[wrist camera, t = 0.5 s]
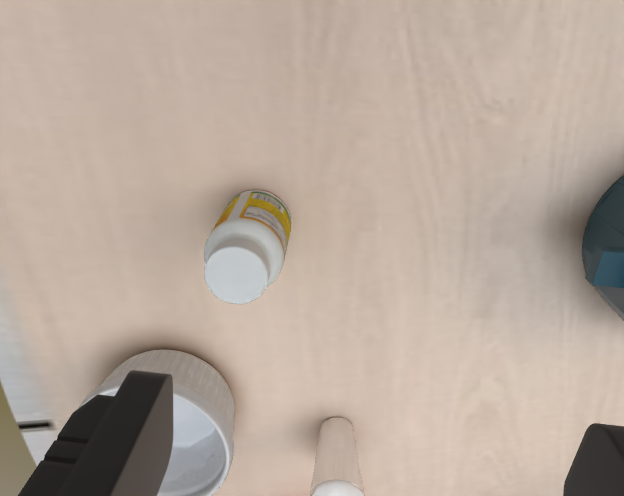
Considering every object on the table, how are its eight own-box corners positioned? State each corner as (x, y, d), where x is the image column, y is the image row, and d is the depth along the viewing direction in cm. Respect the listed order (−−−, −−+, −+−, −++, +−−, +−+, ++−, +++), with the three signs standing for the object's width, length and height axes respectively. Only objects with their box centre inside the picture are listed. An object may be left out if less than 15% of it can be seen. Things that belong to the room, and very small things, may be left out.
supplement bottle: (282, 181, 39) (267, 227, 31) (299, 245, 42) (289, 305, 33) (214, 196, 40) (181, 246, 31) (234, 258, 42) (208, 320, 33)
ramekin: (82, 344, 46) (41, 396, 40) (226, 326, 45) (208, 376, 38) (128, 456, 51) (99, 518, 45) (258, 443, 50) (247, 504, 44)
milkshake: (325, 398, 47) (323, 488, 38) (371, 427, 49) (379, 522, 39) (296, 428, 49) (287, 521, 40) (340, 455, 50) (341, 553, 41)
